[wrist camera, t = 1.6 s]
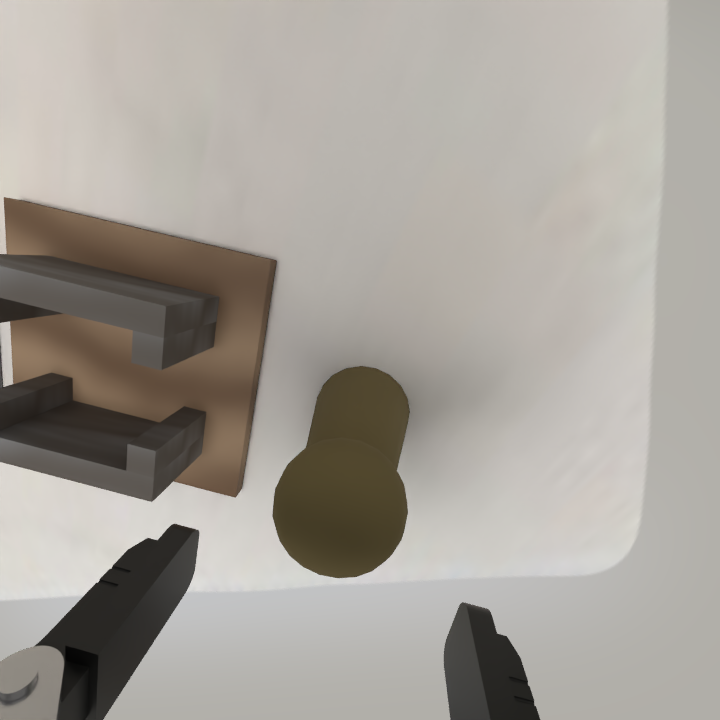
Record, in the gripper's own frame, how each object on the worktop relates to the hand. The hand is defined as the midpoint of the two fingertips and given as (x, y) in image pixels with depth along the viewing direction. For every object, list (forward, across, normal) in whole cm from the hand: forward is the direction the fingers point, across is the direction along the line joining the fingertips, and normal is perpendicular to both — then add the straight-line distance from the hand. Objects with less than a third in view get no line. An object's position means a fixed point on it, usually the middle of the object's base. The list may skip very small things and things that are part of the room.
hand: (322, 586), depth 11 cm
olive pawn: (+13, 0, 0) cm, 13 cm away
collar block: (+13, +15, 0) cm, 20 cm away
